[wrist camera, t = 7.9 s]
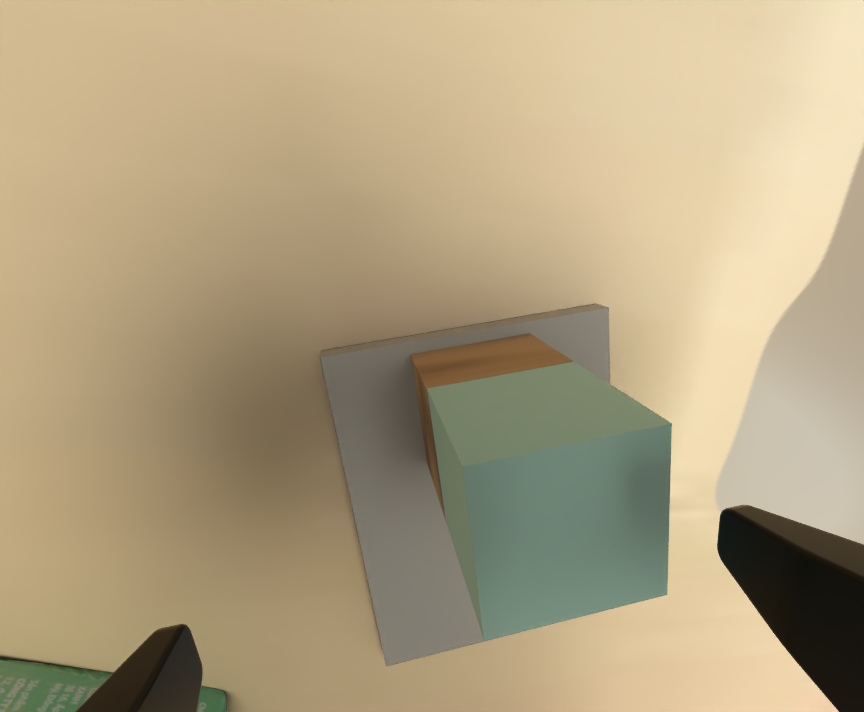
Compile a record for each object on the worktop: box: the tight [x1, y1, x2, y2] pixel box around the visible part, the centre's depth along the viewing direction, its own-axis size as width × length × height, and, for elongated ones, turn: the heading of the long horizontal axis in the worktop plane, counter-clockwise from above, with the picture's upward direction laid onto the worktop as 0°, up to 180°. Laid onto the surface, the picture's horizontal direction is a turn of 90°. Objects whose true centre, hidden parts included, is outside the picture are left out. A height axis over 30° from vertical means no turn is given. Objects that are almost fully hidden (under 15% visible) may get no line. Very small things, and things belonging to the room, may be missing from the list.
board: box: [320, 304, 610, 666], centre depth 22 cm, size 16×12×1 cm
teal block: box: [427, 362, 672, 641], centre depth 14 cm, size 5×5×5 cm
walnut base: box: [411, 333, 573, 520], centre depth 18 cm, size 5×5×4 cm
